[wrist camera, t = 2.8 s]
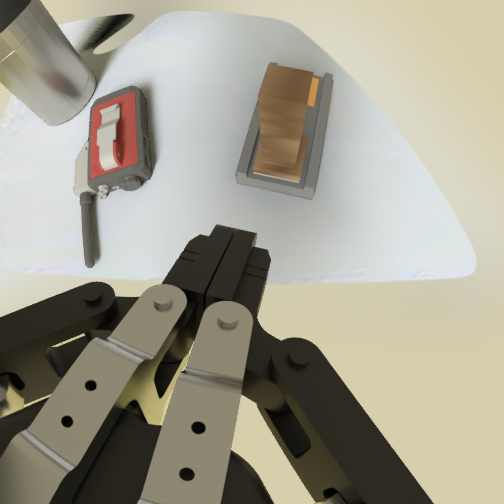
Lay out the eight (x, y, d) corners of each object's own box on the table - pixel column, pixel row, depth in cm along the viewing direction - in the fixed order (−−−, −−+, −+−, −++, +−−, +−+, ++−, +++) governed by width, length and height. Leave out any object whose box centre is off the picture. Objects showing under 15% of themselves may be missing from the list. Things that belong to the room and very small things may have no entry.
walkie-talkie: (86, 115, 31) (89, 271, 28) (69, 96, 27) (64, 266, 23) (148, 91, 31) (165, 252, 27) (136, 68, 26) (147, 243, 23)
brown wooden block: (253, 172, 25) (245, 102, 16) (263, 133, 26) (261, 57, 16) (299, 181, 25) (315, 115, 15) (307, 142, 26) (324, 68, 16)
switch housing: (237, 183, 28) (234, 171, 25) (268, 78, 30) (268, 62, 27) (312, 200, 27) (317, 189, 24) (331, 91, 29) (335, 75, 26)
